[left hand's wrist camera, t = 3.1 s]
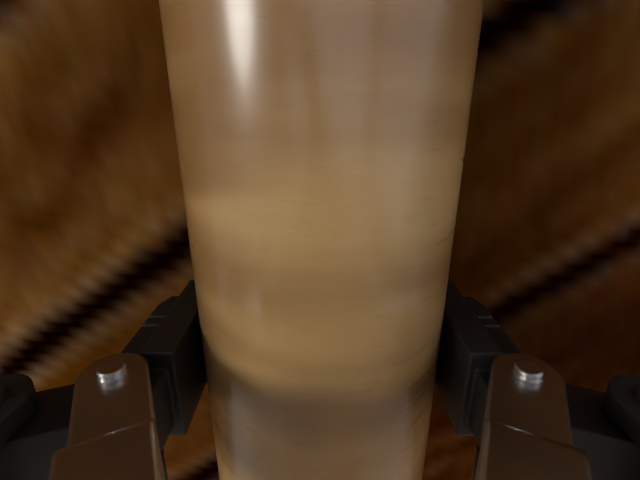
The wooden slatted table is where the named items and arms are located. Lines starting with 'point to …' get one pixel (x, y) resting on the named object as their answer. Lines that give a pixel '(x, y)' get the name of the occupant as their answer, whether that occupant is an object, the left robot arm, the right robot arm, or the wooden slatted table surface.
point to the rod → (321, 221)
